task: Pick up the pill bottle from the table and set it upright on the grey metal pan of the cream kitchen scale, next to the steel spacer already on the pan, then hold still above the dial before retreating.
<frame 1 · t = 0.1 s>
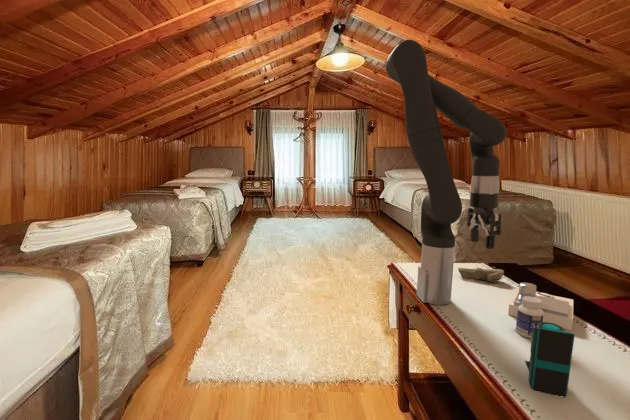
hand: (481, 244, 100), 17 cm above the table, tool pointing down, fingers open, 8 cm apart
scale pan: (540, 313, 94), resting on scale housing, slide at 0.4 cm, touching steel spacer
scale housing: (540, 312, 94), on the table
dark boxy piece: (541, 378, 65), on the table
pill bottle: (527, 334, 82), on the table
sculpture: (479, 280, 121), on the table
steel spacer: (526, 298, 94), point 4 cm above the table, touching scale pan
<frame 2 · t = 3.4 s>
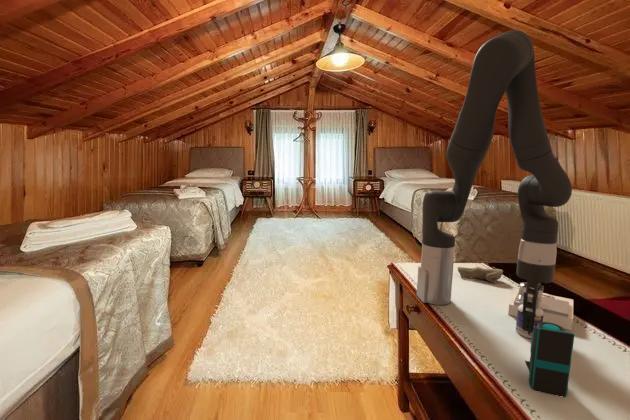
hand: (529, 325, 82), 2 cm above the table, tool pointing down, fingers closed on pill bottle, 5 cm apart
pill bottle: (528, 334, 82), on the table, touching gripper
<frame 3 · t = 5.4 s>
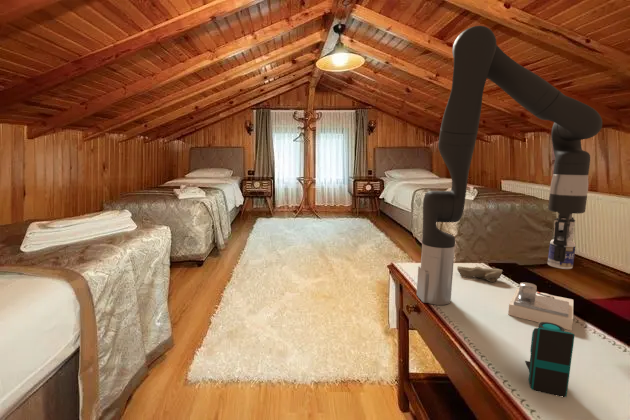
hand: (560, 258, 85), 17 cm above the table, tool pointing down, fingers closed on pill bottle, 5 cm apart
pill bottle: (559, 267, 86), point 15 cm above the table, touching gripper
when the fingers open (7 cm above the table, at t = 7.9 s): pill bottle drops 2 cm, resting on scale pan.
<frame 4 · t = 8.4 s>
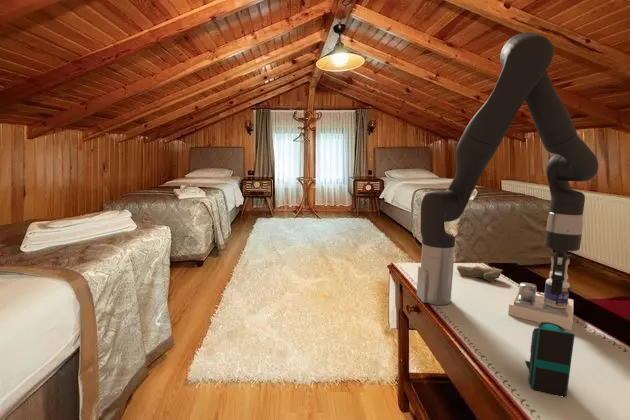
hand: (556, 289, 89), 8 cm above the table, tool pointing down, fingers open, 8 cm apart
scale pan: (540, 313, 94), resting on scale housing, slide at 0.5 cm, touching pill bottle, steel spacer
pill bottle: (555, 305, 90), point 4 cm above the table, touching scale pan
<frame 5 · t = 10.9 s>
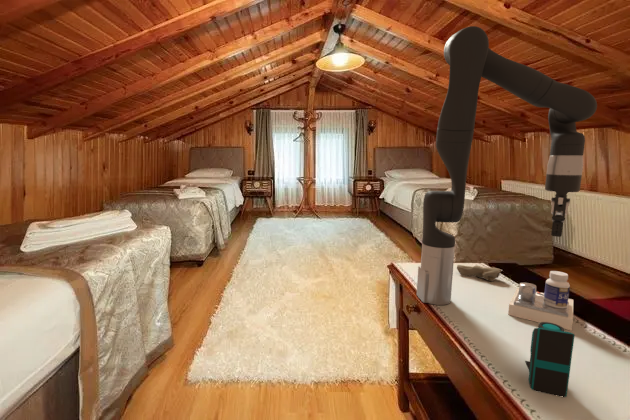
hand: (556, 233, 90), 23 cm above the table, tool pointing down, fingers open, 8 cm apart
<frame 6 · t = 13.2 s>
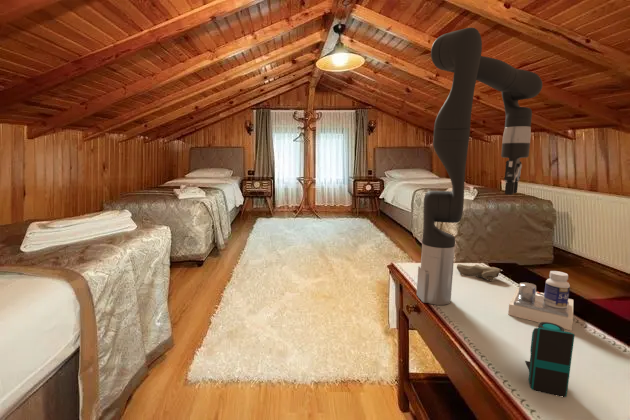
hand: (511, 193, 107), 32 cm above the table, tool pointing down, fingers open, 8 cm apart
at the end: pill bottle inside the target area (0.1 cm from its centre), point 3.6 cm above the table; pill bottle tilted 0°; steel spacer point 3.9 cm above the table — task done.
